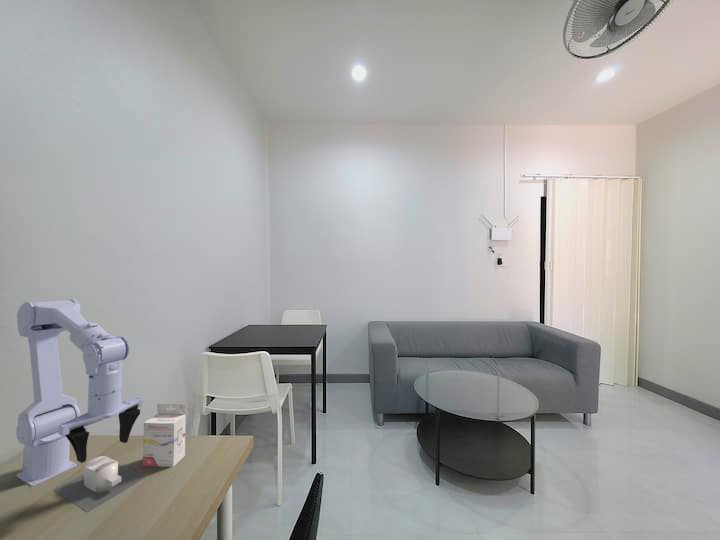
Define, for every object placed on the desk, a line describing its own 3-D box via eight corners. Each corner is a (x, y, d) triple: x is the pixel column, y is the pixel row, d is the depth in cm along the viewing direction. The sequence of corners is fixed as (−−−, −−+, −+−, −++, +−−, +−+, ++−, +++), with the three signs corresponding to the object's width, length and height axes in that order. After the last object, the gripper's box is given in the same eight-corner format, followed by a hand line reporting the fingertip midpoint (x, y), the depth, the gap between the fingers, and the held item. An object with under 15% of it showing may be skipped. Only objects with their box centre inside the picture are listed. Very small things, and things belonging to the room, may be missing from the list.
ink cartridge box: (141, 468, 71) (142, 411, 71) (156, 456, 75) (157, 402, 76) (173, 468, 70) (174, 411, 71) (186, 456, 75) (186, 402, 76)
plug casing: (80, 483, 65) (80, 464, 65) (101, 472, 69) (101, 454, 69) (105, 498, 60) (106, 477, 61) (126, 485, 64) (127, 466, 64)
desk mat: (52, 491, 63) (52, 489, 63) (111, 461, 73) (111, 460, 73) (87, 514, 57) (87, 512, 57) (146, 478, 67) (146, 477, 67)
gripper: (70, 408, 55) (68, 476, 54) (150, 382, 68) (149, 437, 67) (54, 401, 58) (52, 466, 57) (134, 378, 71) (133, 431, 70)
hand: (103, 450), depth 62 cm, fingers open, 7 cm apart
